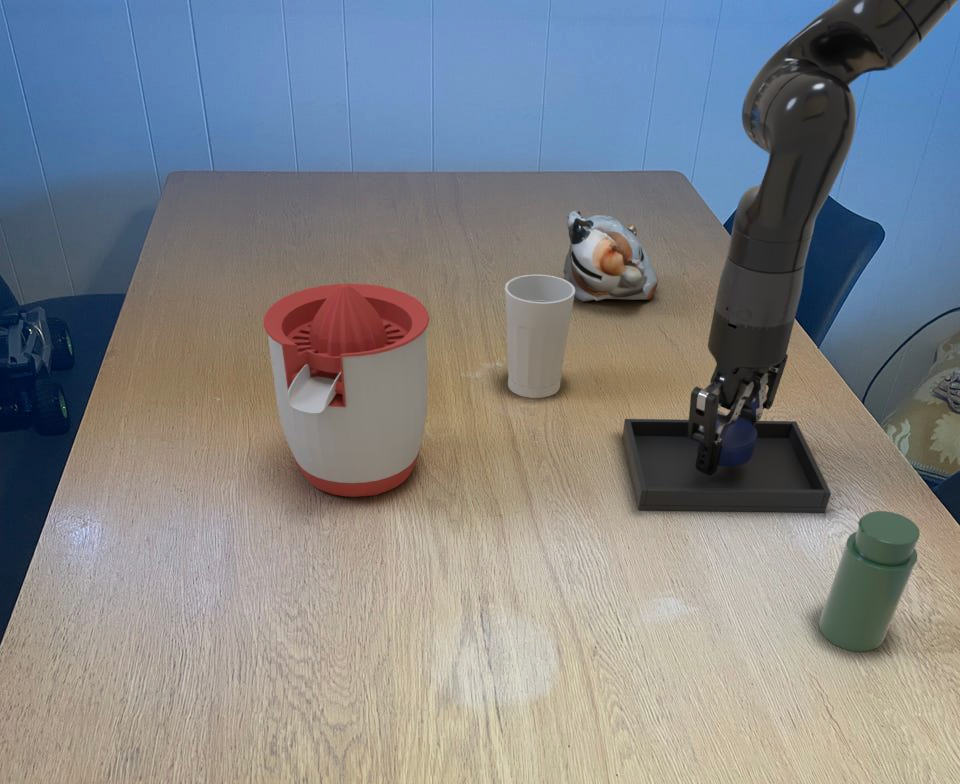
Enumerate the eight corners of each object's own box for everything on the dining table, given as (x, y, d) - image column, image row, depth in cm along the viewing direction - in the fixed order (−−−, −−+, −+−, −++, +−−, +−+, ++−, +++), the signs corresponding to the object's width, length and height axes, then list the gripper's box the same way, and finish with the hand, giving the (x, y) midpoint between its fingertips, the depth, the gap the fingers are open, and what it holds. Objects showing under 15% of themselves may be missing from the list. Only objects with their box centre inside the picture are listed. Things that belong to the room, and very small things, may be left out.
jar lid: (757, 467, 100) (762, 446, 98) (700, 467, 100) (704, 446, 98) (747, 435, 104) (751, 415, 102) (693, 435, 104) (696, 415, 102)
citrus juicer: (247, 501, 98) (215, 311, 84) (325, 420, 110) (308, 242, 97) (388, 535, 94) (378, 342, 81) (453, 447, 106) (453, 267, 93)
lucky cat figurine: (675, 294, 138) (684, 223, 125) (612, 344, 136) (614, 277, 123) (605, 234, 143) (606, 160, 129) (543, 282, 141) (538, 211, 128)
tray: (791, 439, 109) (796, 421, 107) (825, 512, 99) (831, 492, 97) (622, 437, 109) (624, 418, 107) (638, 510, 98) (641, 490, 97)
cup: (532, 408, 113) (539, 309, 105) (487, 382, 118) (490, 286, 109) (580, 387, 117) (589, 290, 109) (534, 363, 121) (540, 268, 113)
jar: (872, 609, 87) (912, 507, 80) (892, 651, 83) (937, 548, 76) (811, 609, 87) (845, 506, 80) (828, 651, 83) (866, 547, 76)
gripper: (762, 274, 97) (730, 423, 108) (678, 316, 89) (653, 472, 101) (830, 297, 93) (789, 449, 104) (747, 343, 85) (713, 501, 97)
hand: (722, 459), depth 102 cm, fingers closed on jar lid, 5 cm apart
